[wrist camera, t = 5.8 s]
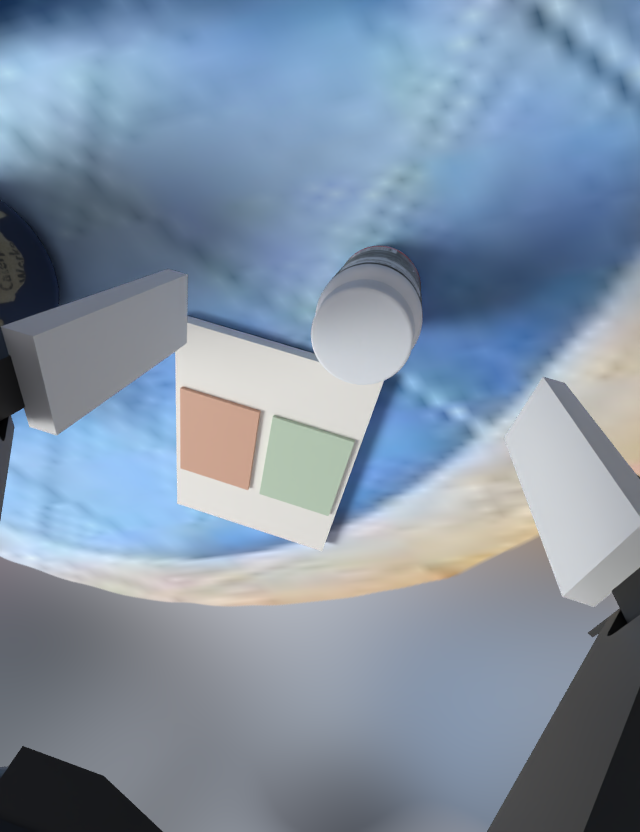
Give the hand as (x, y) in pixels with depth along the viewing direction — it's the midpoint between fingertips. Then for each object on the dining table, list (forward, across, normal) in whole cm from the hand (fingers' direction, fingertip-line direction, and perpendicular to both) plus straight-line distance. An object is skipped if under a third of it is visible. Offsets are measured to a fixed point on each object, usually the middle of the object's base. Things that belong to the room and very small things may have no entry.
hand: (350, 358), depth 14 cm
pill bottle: (+10, 0, 0) cm, 10 cm away
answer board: (+10, -5, -14) cm, 17 cm away
